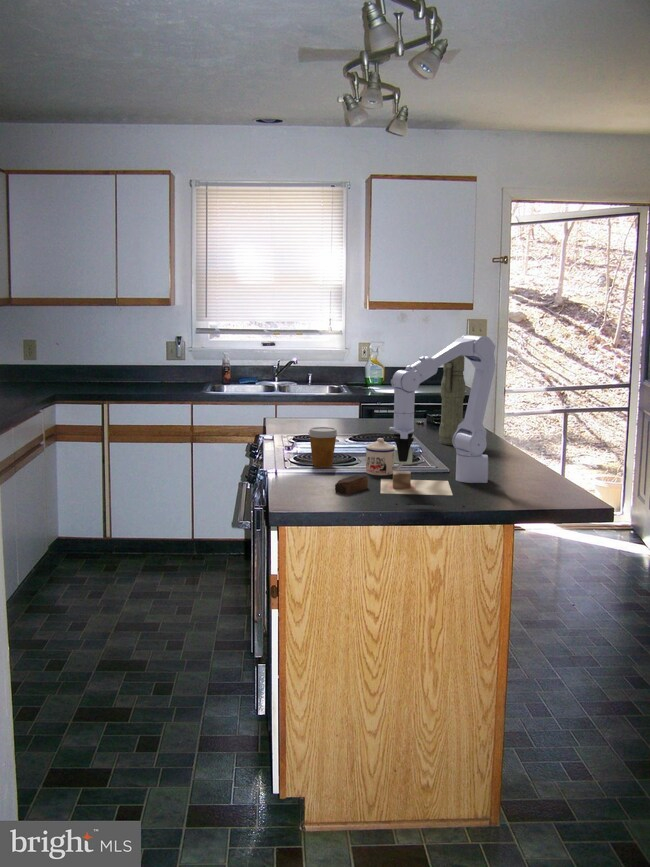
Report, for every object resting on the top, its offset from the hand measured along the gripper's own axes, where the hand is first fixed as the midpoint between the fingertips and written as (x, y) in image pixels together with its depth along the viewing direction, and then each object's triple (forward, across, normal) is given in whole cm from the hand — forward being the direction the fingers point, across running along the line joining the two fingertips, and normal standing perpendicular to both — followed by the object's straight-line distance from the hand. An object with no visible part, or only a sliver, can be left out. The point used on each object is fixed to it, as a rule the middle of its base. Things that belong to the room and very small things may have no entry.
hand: (402, 459), depth 249 cm
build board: (+9, 0, +4) cm, 10 cm away
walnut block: (+8, 0, 0) cm, 8 cm away
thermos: (+9, -78, +20) cm, 81 cm away
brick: (+9, +6, -14) cm, 18 cm away
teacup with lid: (+9, -18, -5) cm, 21 cm away
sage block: (+1, 0, 0) cm, 1 cm away
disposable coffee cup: (+9, -31, -25) cm, 41 cm away
